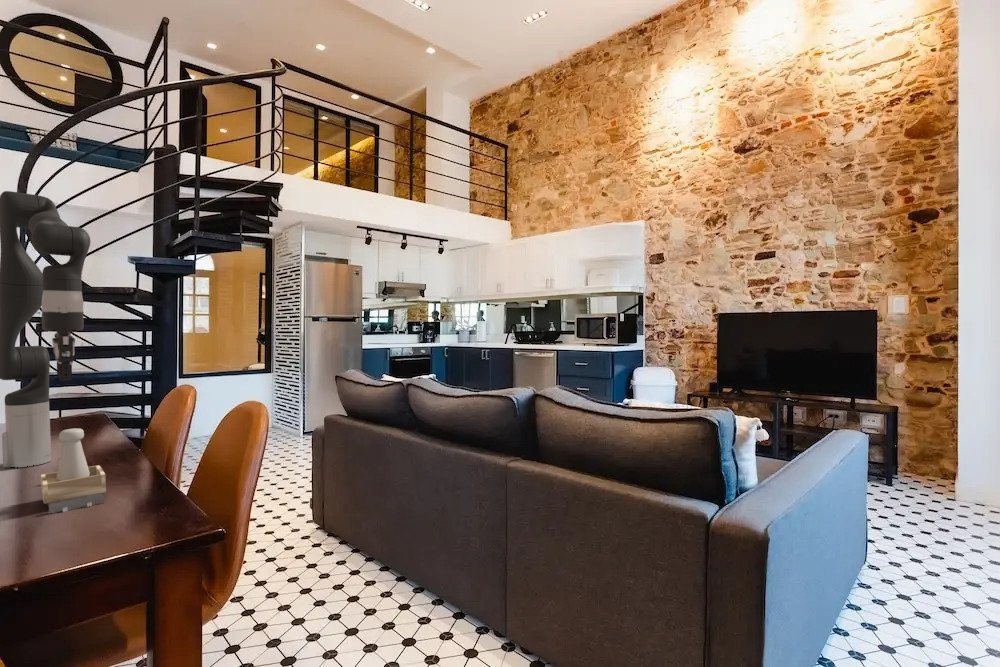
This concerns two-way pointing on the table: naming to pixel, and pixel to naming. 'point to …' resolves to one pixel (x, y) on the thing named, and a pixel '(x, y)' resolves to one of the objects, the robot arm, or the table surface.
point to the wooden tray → (72, 486)
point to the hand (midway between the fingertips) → (64, 378)
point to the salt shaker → (72, 456)
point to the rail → (76, 503)
